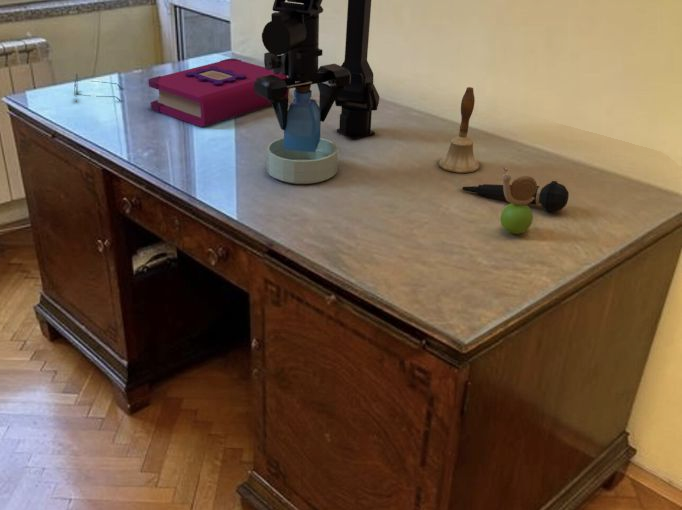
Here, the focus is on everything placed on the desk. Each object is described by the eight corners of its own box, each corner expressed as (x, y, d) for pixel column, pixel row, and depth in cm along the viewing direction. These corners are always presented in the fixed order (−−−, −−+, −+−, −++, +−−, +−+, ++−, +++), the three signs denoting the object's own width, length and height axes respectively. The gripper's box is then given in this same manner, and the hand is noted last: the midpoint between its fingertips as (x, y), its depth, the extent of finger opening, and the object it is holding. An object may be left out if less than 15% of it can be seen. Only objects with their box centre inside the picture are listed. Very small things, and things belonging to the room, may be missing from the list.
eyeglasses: (121, 87, 203) (119, 68, 201) (120, 102, 193) (118, 82, 190) (77, 89, 202) (74, 70, 199) (74, 104, 192) (71, 84, 189)
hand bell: (454, 155, 165) (463, 79, 156) (487, 165, 161) (498, 88, 151) (430, 165, 161) (438, 87, 152) (463, 176, 156) (474, 97, 147)
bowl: (312, 154, 166) (312, 131, 163) (350, 176, 156) (351, 152, 153) (254, 167, 159) (253, 143, 156) (290, 191, 150) (290, 166, 147)
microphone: (459, 208, 150) (564, 220, 141) (456, 185, 146) (563, 195, 137) (469, 191, 153) (572, 201, 144) (466, 167, 149) (572, 176, 139)
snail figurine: (489, 225, 138) (499, 161, 131) (524, 224, 138) (536, 160, 131) (497, 239, 133) (509, 173, 126) (534, 238, 134) (547, 172, 127)
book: (289, 102, 194) (289, 71, 190) (204, 129, 178) (202, 96, 173) (232, 84, 206) (231, 55, 202) (148, 108, 189) (145, 77, 185)
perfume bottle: (314, 152, 152) (315, 91, 145) (284, 149, 153) (283, 88, 145) (320, 140, 157) (321, 80, 149) (290, 138, 158) (290, 78, 150)
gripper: (320, 27, 153) (319, 106, 162) (238, 39, 144) (241, 122, 154) (353, 39, 145) (350, 121, 154) (268, 53, 137) (270, 139, 146)
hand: (302, 125), depth 152 cm, fingers closed on perfume bottle, 9 cm apart
